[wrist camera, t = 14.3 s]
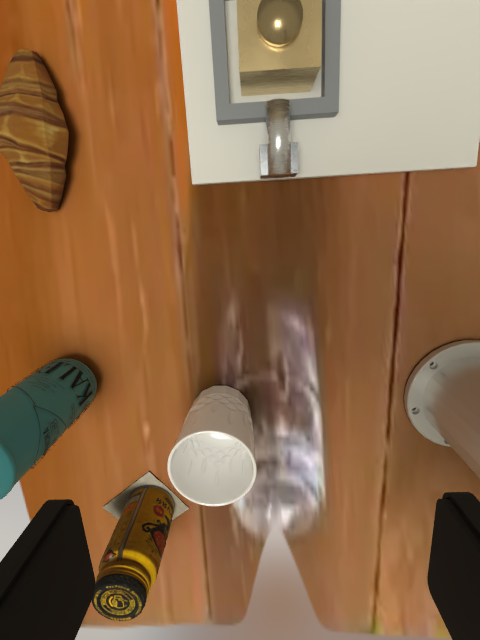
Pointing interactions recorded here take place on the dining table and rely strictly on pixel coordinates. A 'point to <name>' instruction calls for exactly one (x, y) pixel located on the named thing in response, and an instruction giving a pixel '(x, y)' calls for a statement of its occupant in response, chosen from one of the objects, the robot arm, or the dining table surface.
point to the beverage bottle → (40, 415)
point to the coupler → (278, 45)
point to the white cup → (215, 449)
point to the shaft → (278, 143)
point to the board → (341, 91)
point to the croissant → (33, 130)
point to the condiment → (135, 547)
